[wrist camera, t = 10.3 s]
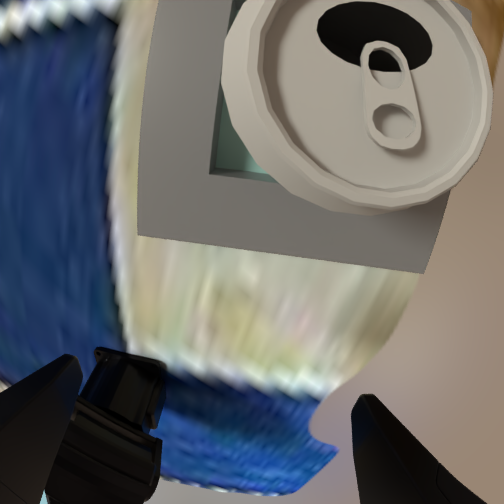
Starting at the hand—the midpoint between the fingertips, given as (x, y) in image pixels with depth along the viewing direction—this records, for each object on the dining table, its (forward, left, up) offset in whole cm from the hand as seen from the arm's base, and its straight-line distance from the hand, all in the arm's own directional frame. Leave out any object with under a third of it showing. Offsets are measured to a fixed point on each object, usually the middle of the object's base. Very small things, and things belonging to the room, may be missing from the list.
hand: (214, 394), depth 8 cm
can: (+3, +9, -13) cm, 16 cm away
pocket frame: (+3, +9, -13) cm, 16 cm away
